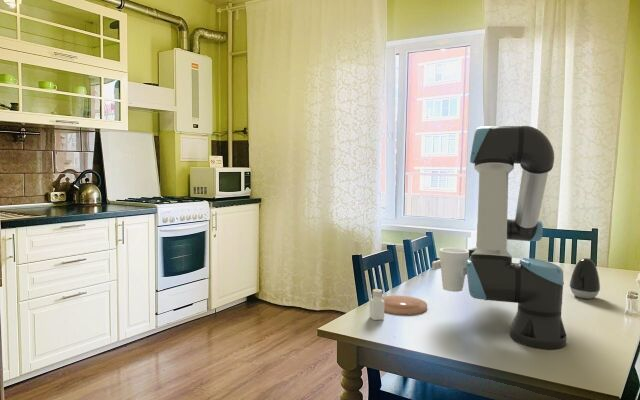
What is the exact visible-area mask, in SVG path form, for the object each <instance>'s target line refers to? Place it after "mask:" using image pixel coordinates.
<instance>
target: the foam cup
mask: <svg viewBox="0 0 640 400" xmlns="http://www.w3.org/2000/svg"><path fill="white" fill-rule="evenodd" d="M468 250H469V249H465V248H461V247H460V248H459V247H441V248H439V251H438V254H439V255H438V257H440V263H441V269H440V271H441V282H442V289H443V290H444V291H447V292H453V293H455V292H458V293H459V292H462V291H463V288H464V285H465V279H466V275H464V276H461V267H463V266H465V265H466V261H467V260H468V259H469V251H468Z"/></svg>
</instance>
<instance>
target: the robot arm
mask: <svg viewBox="0 0 640 400" xmlns="http://www.w3.org/2000/svg"><path fill="white" fill-rule="evenodd" d="M469 157H470V159H469V162H470V163H471V164H474V170H475V171H476V172H477V173H478V174H479V175H478V203H477V224H476V247H472V248H470V249H467V250H468V251H469V259H468V260H467V261H466V265H465V266H463V267H461V276H464V275H465V276H466V275H467V277H466V278H467V286H468V293H469V296H471V297H472V298H473V299H475V300H476V299H477V300H483V301H491V302H492V301H494V302H502V303H515V304H517V311H516V314H515V316H514V318H513V320H512V323H511V325H510V329H509V336H510V338H511V339H512V340H514V341H516V342H517V343H519V344H522V345H525V346H527V347H532V348H535V349H542V350H543V349H545V350H557V349H562V348H564V347H566V346H567V339H568V337H567V332H566V329H565V326H564V322H563V318H562V306H563V294H564V293H563V292H564V285H565V282H564V270H563V269H562V268H561V266H559V265H557V264H556V263H553V262H550V261H546V260H542V259H537V258H530V257H527V258H526V257H523V258H521V259H520V260H519V262H518V263H516V262H513V257H512V255H511V254H510V252H508V250H507V249H508V248H507V245H508V242H507V241H523V242H540V241H541V240H542V238H543V230H544V229H543V227H544V226H543V222H542V221H541V220H539V218H540V214H541V213H540V212H541V208H542V203H543V198H544V194H545V190H546V184H547V179H548V174H549V173H550V172H551V171H552V169H553V168H554V163H555V151H554V148H553V145H552V143H551V141H550V140H549V137H547V136H546V135H545V134H544V132H542V131H541V130H539V129H538V128H536V127H534V126H531V125H489V126H479V127H477V128H476V129H475V130H474V136H473V142H472V147H471V152H470V156H469ZM515 164H519V166H520V167H521V169H522V171H521V177H520V184H519V185H520V186H519V191H518V198H517V203H516V204H517V205H516V209H515V218H514V219H512V218H511V219H510V218H509V219H508V207H509V205H508V200H509V174H510V173H511V172H512V171H513V170H514V169H515ZM439 269H440V270H441V263H440V257H439V256H437V257H435V258H434V261H432V262H431V270H432V271H437V270H439Z"/></svg>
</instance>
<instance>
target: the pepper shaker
mask: <svg viewBox="0 0 640 400" xmlns="http://www.w3.org/2000/svg"><path fill="white" fill-rule="evenodd" d="M382 297H383V289H380V288H374V289H372V298H370V299H369V317H370V318H371V319H372V320H373V321H380V320H384V319H385V312H384V306H385V302H384V300H383V299H382Z"/></svg>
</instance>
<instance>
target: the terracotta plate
mask: <svg viewBox="0 0 640 400" xmlns="http://www.w3.org/2000/svg"><path fill="white" fill-rule="evenodd" d="M382 299H383V300H384V302H385V306H384V313H388V314H391V315H392V314H393V315H401V316H402V315H403V316H411V315H413V316H414V315H420V314H423V313H424V312H427V310H428V303H427V302H426V301H425V300H423V299H420V298H418V297H413V296H408V295H387V296H386V295H385V296H382Z"/></svg>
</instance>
